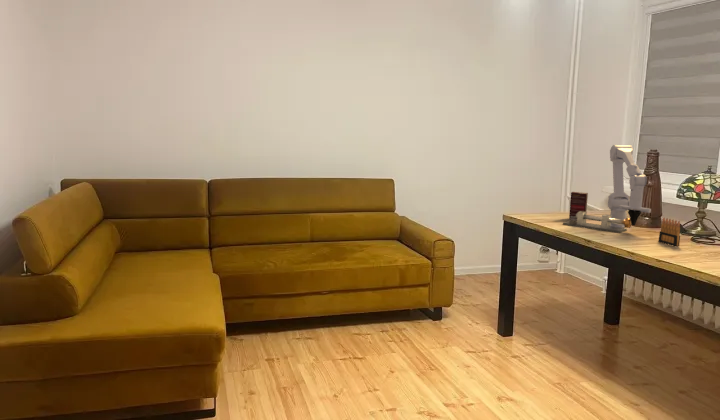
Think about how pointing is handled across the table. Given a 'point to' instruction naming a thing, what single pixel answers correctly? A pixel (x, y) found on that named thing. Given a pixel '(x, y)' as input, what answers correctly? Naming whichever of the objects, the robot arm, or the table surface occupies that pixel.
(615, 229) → the plate
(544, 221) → the table surface
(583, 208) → the supplement box
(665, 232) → the ammunition clip
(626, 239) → the table surface
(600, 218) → the shaft
